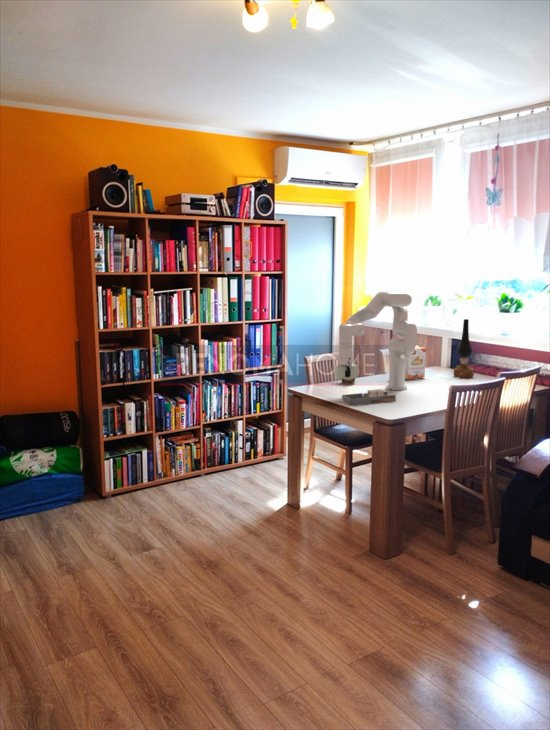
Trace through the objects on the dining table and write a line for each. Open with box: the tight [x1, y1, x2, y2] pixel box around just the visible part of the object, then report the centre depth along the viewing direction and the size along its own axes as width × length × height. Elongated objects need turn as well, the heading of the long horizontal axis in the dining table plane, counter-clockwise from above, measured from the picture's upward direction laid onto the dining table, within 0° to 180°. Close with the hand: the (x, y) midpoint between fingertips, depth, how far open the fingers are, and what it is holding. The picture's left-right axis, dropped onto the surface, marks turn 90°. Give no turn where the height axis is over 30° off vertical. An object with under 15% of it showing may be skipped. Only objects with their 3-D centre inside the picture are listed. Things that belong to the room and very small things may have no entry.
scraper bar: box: [333, 363, 359, 380], centre depth 345 cm, size 4×13×7 cm, turn 106°
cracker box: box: [404, 346, 427, 380], centre depth 398 cm, size 14×6×21 cm, turn 114°
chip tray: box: [341, 392, 373, 406], centre depth 333 cm, size 12×13×4 cm
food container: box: [341, 377, 356, 386], centre depth 386 cm, size 12×6×10 cm, turn 43°
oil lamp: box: [453, 318, 475, 379], centre depth 400 cm, size 14×15×40 cm
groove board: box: [363, 391, 397, 404], centre depth 338 cm, size 11×15×4 cm
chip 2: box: [375, 388, 385, 396], centre depth 337 cm, size 4×4×4 cm
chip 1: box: [367, 389, 377, 398], centre depth 336 cm, size 4×4×4 cm
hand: (346, 375), depth 346 cm, fingers closed on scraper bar, 4 cm apart
